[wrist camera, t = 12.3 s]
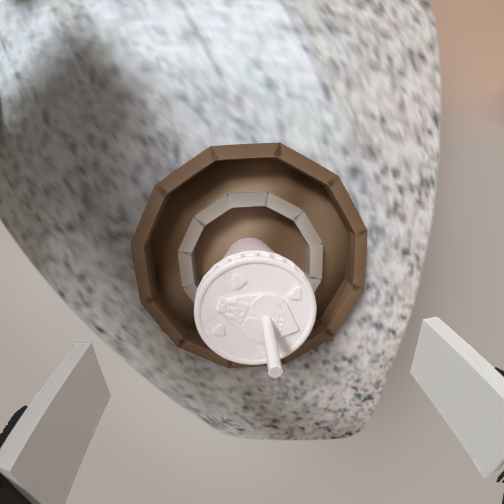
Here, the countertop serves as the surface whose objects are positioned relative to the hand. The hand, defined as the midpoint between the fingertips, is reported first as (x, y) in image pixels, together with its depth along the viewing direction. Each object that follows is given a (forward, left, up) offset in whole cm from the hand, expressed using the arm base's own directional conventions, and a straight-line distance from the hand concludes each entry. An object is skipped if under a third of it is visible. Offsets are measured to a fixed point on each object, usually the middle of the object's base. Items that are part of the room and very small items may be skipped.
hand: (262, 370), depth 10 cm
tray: (0, 0, -15) cm, 15 cm away
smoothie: (0, 0, -15) cm, 15 cm away
